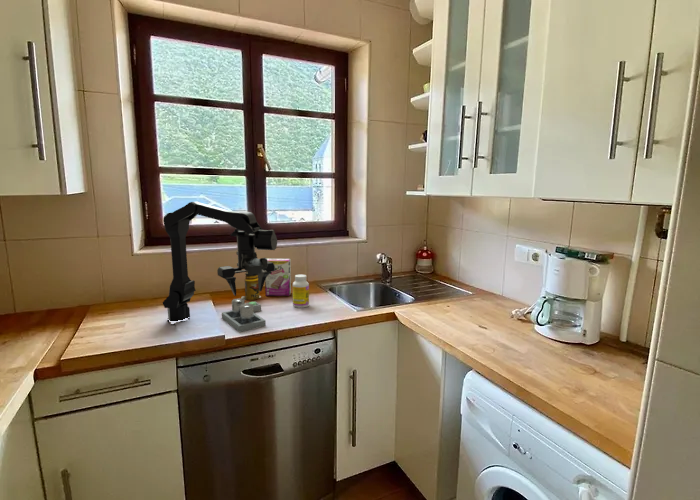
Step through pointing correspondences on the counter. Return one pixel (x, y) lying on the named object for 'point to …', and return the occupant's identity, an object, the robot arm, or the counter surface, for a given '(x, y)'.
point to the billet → (246, 313)
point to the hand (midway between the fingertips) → (248, 293)
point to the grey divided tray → (237, 324)
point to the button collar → (256, 307)
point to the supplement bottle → (300, 292)
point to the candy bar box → (279, 278)
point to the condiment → (251, 287)
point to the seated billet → (237, 307)
